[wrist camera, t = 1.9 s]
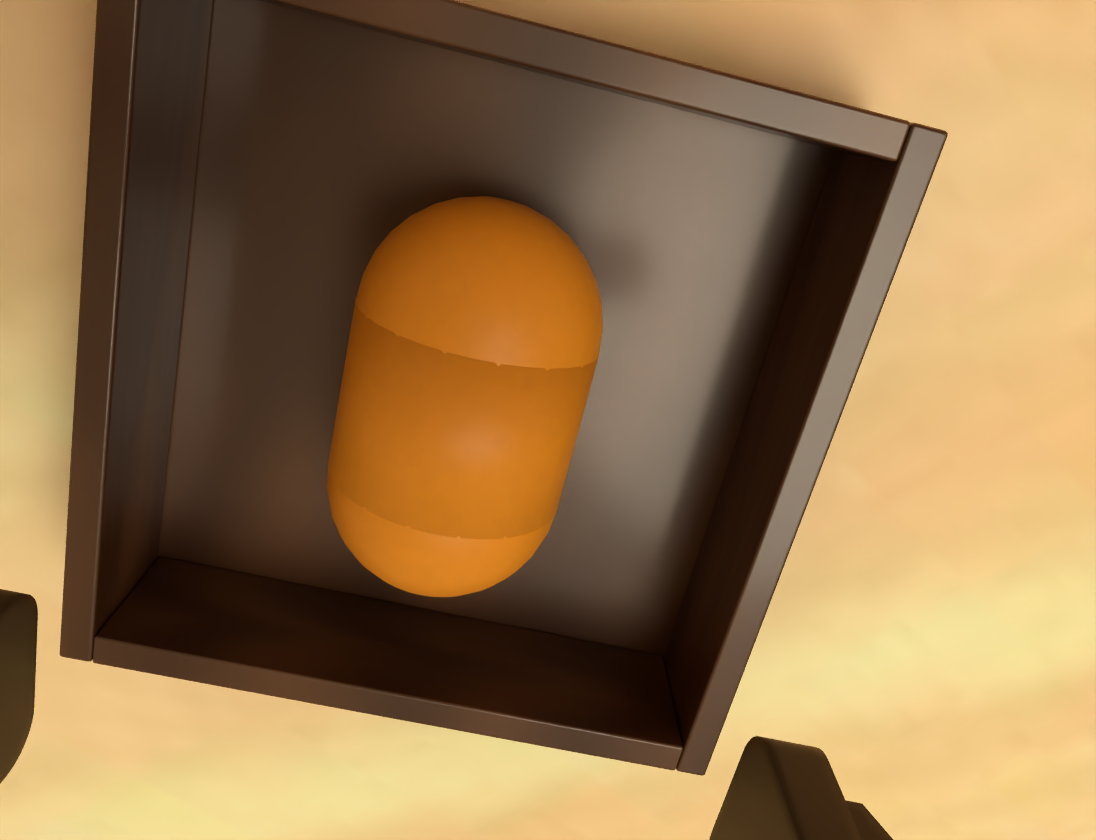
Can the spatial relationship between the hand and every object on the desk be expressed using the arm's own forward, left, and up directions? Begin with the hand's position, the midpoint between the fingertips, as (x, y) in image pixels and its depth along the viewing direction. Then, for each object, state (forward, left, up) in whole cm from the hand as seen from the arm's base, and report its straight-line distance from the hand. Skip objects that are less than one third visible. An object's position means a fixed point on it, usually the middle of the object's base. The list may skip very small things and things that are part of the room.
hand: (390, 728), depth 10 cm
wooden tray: (0, 0, -15) cm, 15 cm away
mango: (0, 0, -14) cm, 14 cm away
